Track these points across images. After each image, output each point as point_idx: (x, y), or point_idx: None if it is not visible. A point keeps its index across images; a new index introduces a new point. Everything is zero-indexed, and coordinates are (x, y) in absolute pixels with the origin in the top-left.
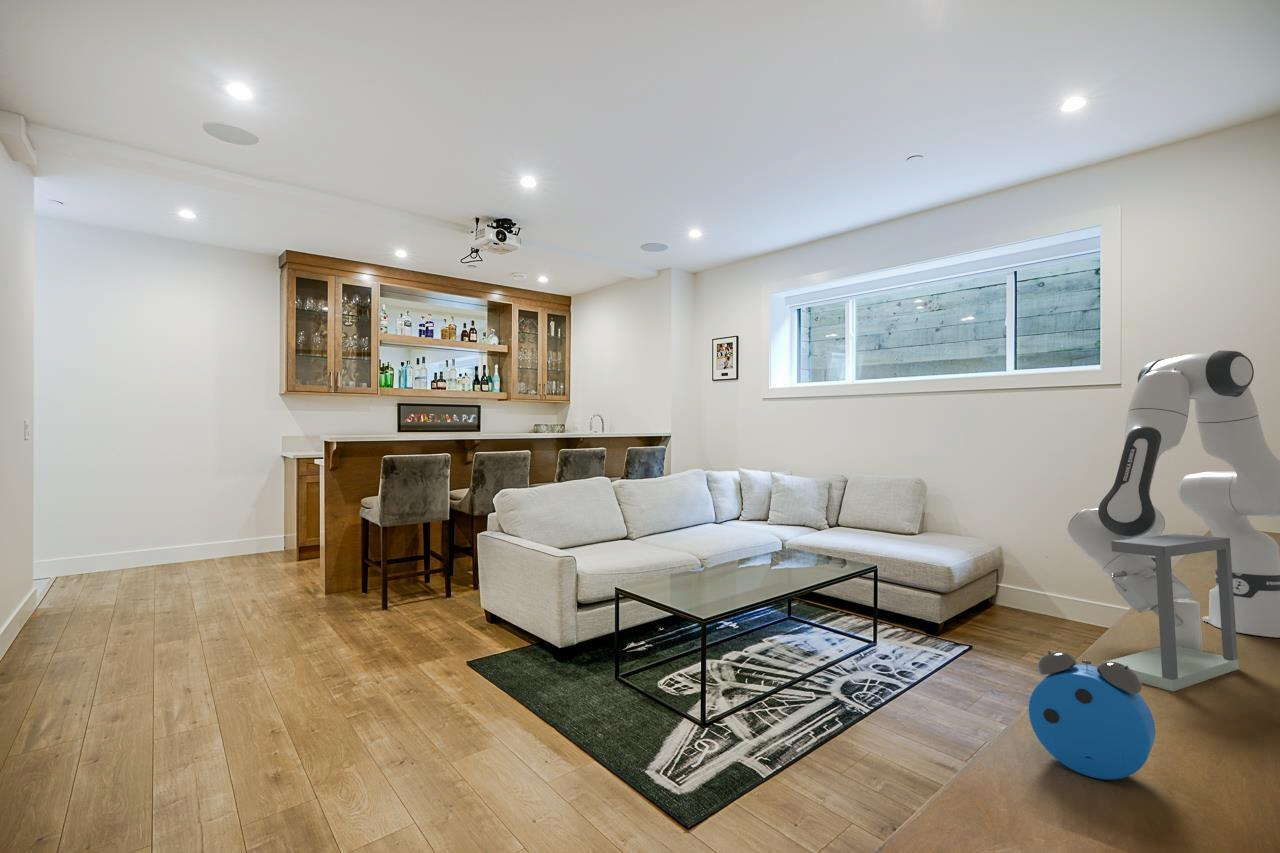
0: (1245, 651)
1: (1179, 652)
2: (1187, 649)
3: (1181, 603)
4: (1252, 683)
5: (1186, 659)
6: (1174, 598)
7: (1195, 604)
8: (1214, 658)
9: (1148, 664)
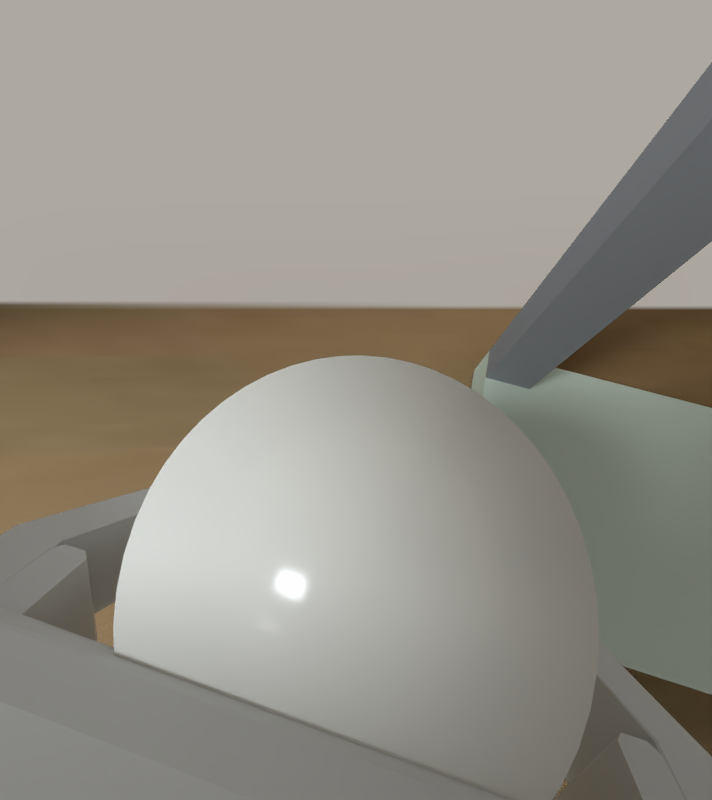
0: (151, 360)
1: (605, 542)
2: None
3: (582, 546)
4: (621, 338)
5: (708, 501)
6: (249, 720)
7: (466, 389)
8: (567, 413)
9: None
